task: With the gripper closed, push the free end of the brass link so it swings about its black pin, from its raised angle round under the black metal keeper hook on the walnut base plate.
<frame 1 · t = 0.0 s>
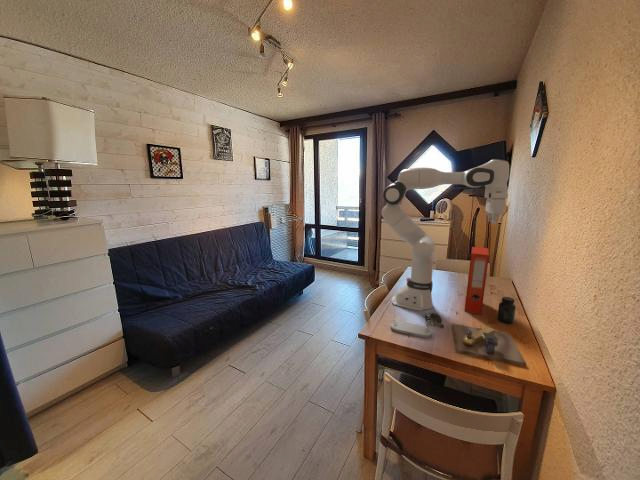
hand: (492, 222, 131), 48 cm above the table, tool pointing down, fingers open, 8 cm apart
supplement bottle: (505, 321, 131), on the table
file binder: (473, 306, 147), on the table
walnut base plate: (468, 347, 110), on the table
brass link: (479, 333, 113), point 4 cm above the table, hinge at 50.0°
keeper hook: (489, 343, 106), on the walnut base plate, point 4 cm above the table
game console: (410, 331, 123), on the table
eagle figurine: (433, 325, 129), on the table
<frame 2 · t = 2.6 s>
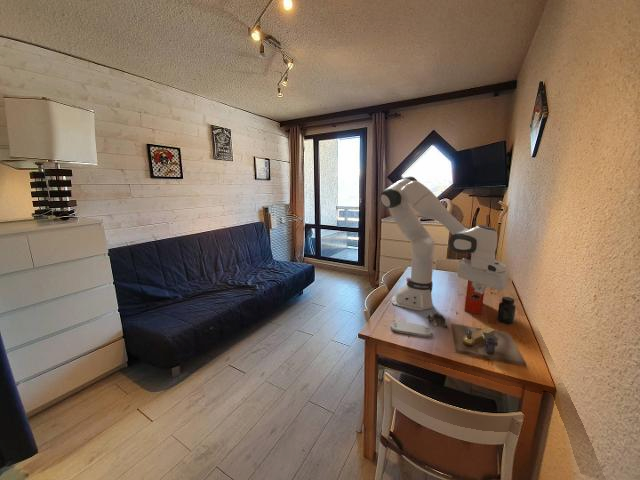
hand: (478, 292, 118), 19 cm above the table, tool pointing down, fingers closed
eagle figurine: (437, 325, 128), on the table
everything else where it was.
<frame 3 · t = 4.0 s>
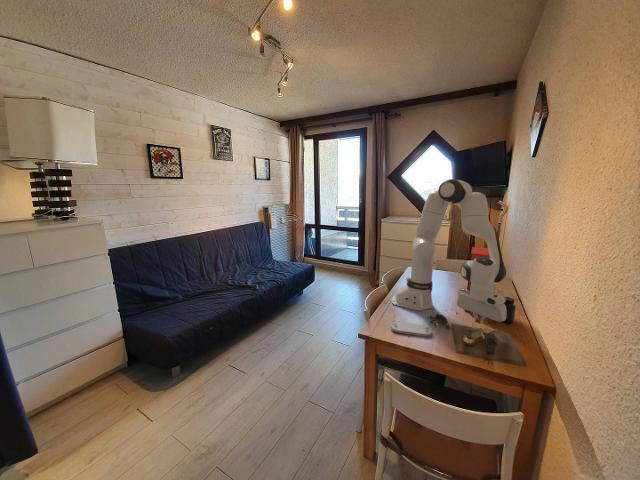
hand: (478, 322, 121), 4 cm above the table, tool pointing down, fingers closed
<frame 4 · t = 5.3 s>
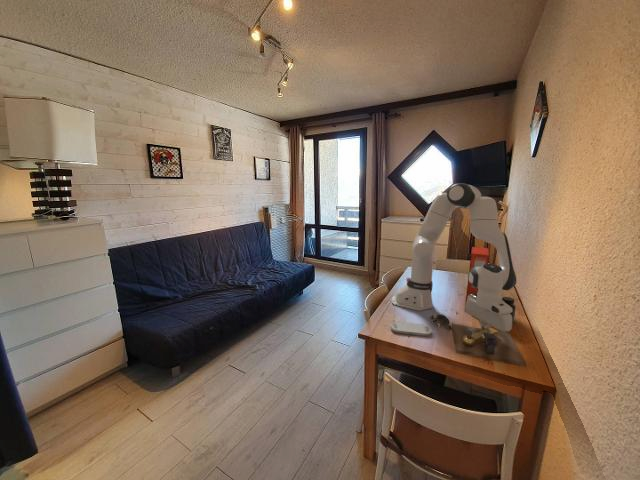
hand: (484, 330, 118), 3 cm above the table, tool pointing down, fingers closed
brass link: (480, 333, 112), point 4 cm above the table, hinge at 45.4°, touching gripper
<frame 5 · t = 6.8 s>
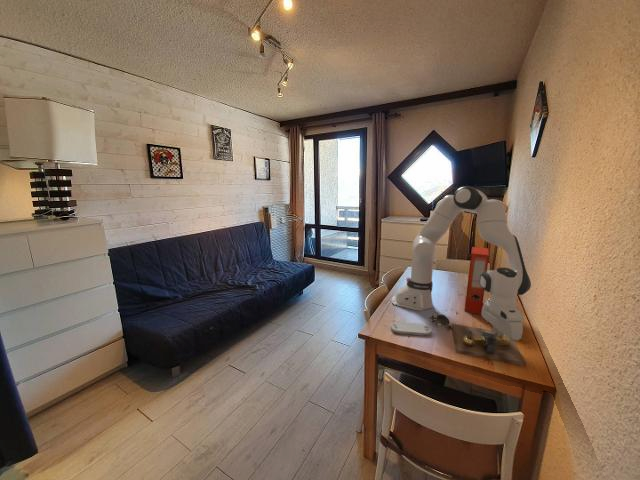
hand: (497, 337, 113), 3 cm above the table, tool pointing down, fingers closed
brass link: (485, 337, 110), point 4 cm above the table, hinge at 22.1°, touching gripper
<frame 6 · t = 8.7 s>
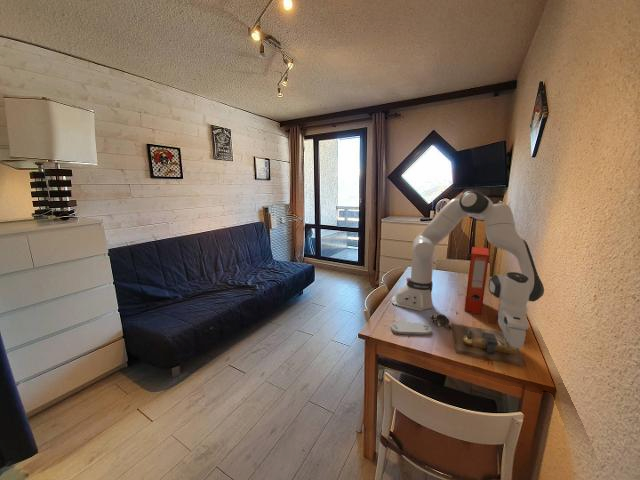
hand: (507, 345, 107), 3 cm above the table, tool pointing down, fingers closed
brass link: (488, 341, 107), point 4 cm above the table, hinge at -1.4°, touching gripper, keeper hook
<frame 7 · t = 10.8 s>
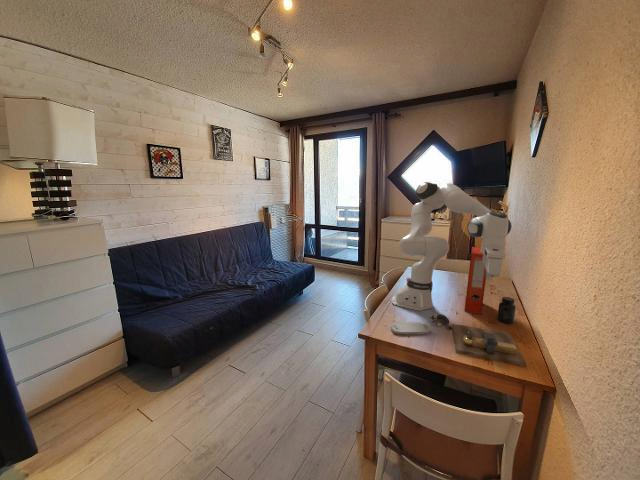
hand: (488, 278, 120), 25 cm above the table, tool pointing down, fingers closed
brass link: (488, 341, 107), point 4 cm above the table, hinge at -1.4°, touching keeper hook
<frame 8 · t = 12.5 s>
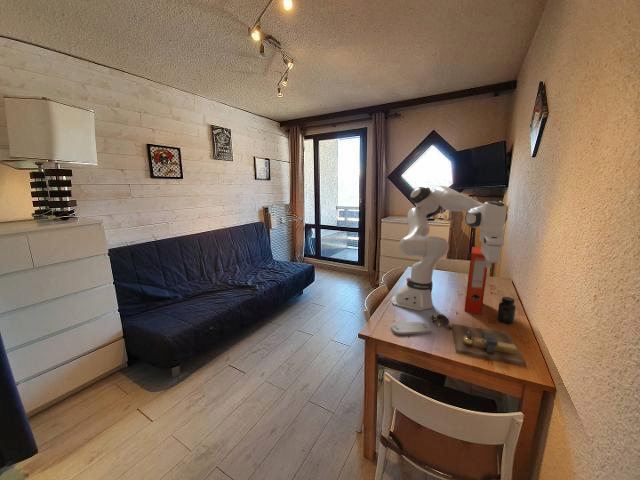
hand: (487, 267, 122), 29 cm above the table, tool pointing down, fingers closed
at the end: brass link at -1° (first picture: +50°) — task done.
